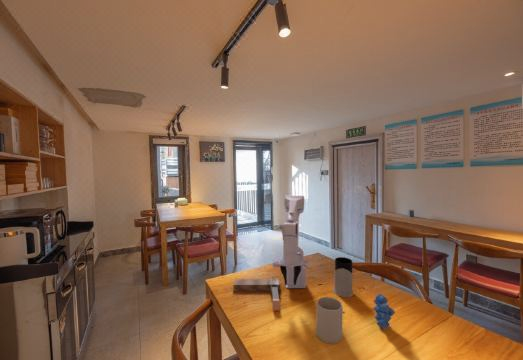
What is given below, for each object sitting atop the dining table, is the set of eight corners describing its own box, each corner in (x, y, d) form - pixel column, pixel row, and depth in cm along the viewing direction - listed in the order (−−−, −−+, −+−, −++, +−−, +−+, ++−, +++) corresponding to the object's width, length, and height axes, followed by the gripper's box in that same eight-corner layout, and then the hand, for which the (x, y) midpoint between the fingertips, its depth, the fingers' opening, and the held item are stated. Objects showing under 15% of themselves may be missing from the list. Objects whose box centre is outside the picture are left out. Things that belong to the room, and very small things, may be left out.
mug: (340, 347, 74) (340, 313, 74) (313, 338, 78) (313, 306, 77) (345, 325, 85) (345, 295, 84) (321, 318, 88) (322, 290, 88)
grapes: (401, 340, 77) (401, 304, 76) (379, 337, 78) (379, 302, 78) (389, 318, 88) (389, 287, 88) (370, 316, 90) (370, 285, 89)
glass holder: (332, 295, 105) (332, 262, 105) (335, 281, 118) (335, 252, 118) (353, 298, 102) (353, 265, 101) (353, 284, 115) (353, 254, 115)
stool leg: (270, 290, 109) (270, 282, 108) (277, 290, 109) (277, 282, 108) (272, 310, 93) (272, 300, 93) (280, 310, 93) (280, 300, 93)
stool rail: (279, 285, 115) (279, 275, 114) (281, 295, 105) (281, 284, 105) (234, 285, 115) (234, 275, 114) (232, 295, 105) (232, 284, 105)
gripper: (273, 254, 92) (273, 288, 92) (309, 254, 92) (309, 288, 92) (272, 248, 99) (272, 280, 99) (306, 248, 99) (306, 280, 99)
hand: (290, 283), depth 96 cm, fingers open, 3 cm apart
